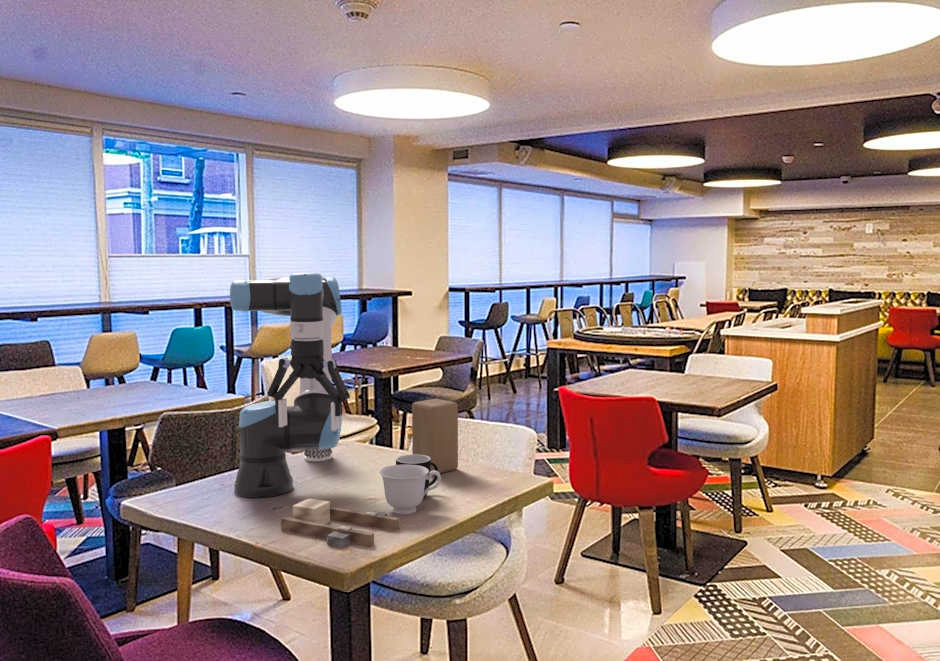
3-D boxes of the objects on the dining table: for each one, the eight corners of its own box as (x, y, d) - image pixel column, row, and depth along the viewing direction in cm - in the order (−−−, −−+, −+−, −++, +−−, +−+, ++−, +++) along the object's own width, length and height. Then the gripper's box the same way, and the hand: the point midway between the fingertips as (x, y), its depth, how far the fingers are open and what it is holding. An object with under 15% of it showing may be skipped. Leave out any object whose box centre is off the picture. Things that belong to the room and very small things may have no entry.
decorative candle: (336, 454, 240) (335, 375, 237) (328, 461, 231) (327, 380, 228) (308, 453, 241) (306, 375, 238) (299, 461, 231) (297, 380, 229)
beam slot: (272, 533, 170) (272, 521, 170) (321, 509, 186) (321, 498, 186) (362, 551, 160) (362, 538, 160) (406, 524, 176) (405, 512, 176)
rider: (293, 526, 175) (292, 505, 175) (309, 518, 181) (308, 498, 180) (314, 530, 173) (314, 509, 172) (330, 522, 178) (329, 501, 178)
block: (437, 463, 229) (437, 397, 228) (459, 469, 222) (459, 402, 220) (411, 469, 223) (410, 401, 221) (433, 476, 215) (432, 406, 213)
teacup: (442, 518, 180) (441, 476, 179) (378, 519, 179) (378, 478, 178) (440, 502, 192) (439, 463, 191) (380, 503, 191) (380, 464, 190)
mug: (407, 504, 190) (407, 465, 189) (389, 495, 198) (389, 457, 197) (447, 496, 197) (447, 457, 196) (428, 487, 204) (428, 450, 204)
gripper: (251, 339, 178) (253, 428, 180) (349, 342, 171) (351, 434, 174) (267, 335, 185) (269, 421, 187) (362, 338, 179) (364, 427, 181)
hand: (309, 427), depth 180 cm, fingers open, 13 cm apart
